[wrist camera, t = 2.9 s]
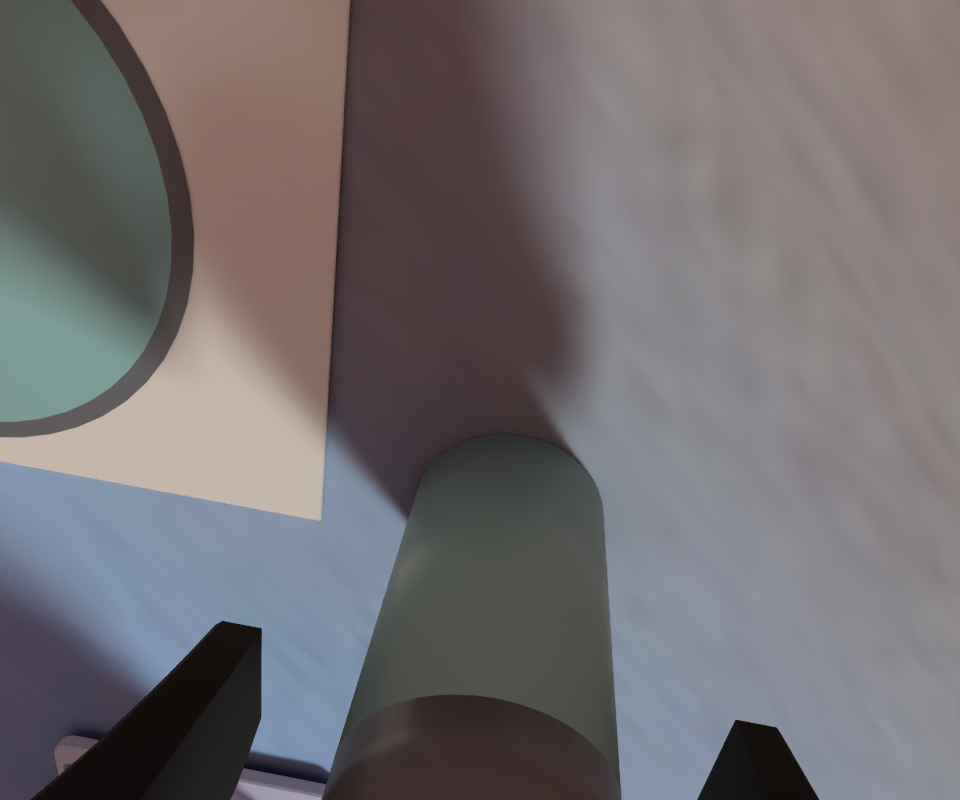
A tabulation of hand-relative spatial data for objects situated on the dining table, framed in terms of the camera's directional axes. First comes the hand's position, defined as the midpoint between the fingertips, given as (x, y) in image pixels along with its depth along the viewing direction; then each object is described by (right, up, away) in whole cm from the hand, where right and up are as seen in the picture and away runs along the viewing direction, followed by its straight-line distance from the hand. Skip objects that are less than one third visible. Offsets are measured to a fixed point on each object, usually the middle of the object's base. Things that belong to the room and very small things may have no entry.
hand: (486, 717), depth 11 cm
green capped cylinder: (+1, +2, +5) cm, 5 cm away
